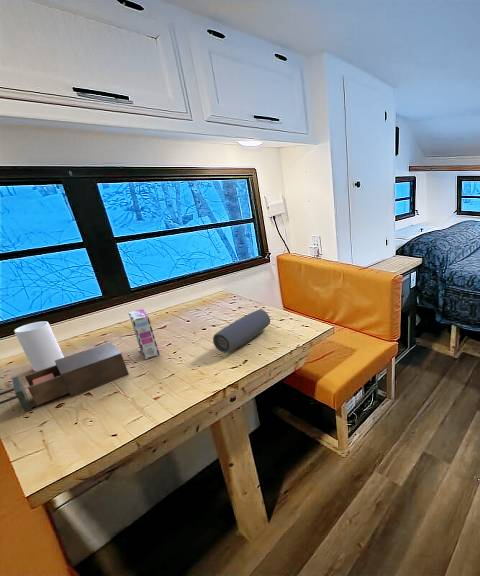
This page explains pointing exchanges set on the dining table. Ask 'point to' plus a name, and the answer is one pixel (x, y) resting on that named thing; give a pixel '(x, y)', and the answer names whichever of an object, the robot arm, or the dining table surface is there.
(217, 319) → the dining table surface
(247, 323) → the bluetooth speaker
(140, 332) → the candy bar box
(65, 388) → the drawer
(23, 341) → the cup
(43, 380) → the block
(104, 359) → the cabinet
